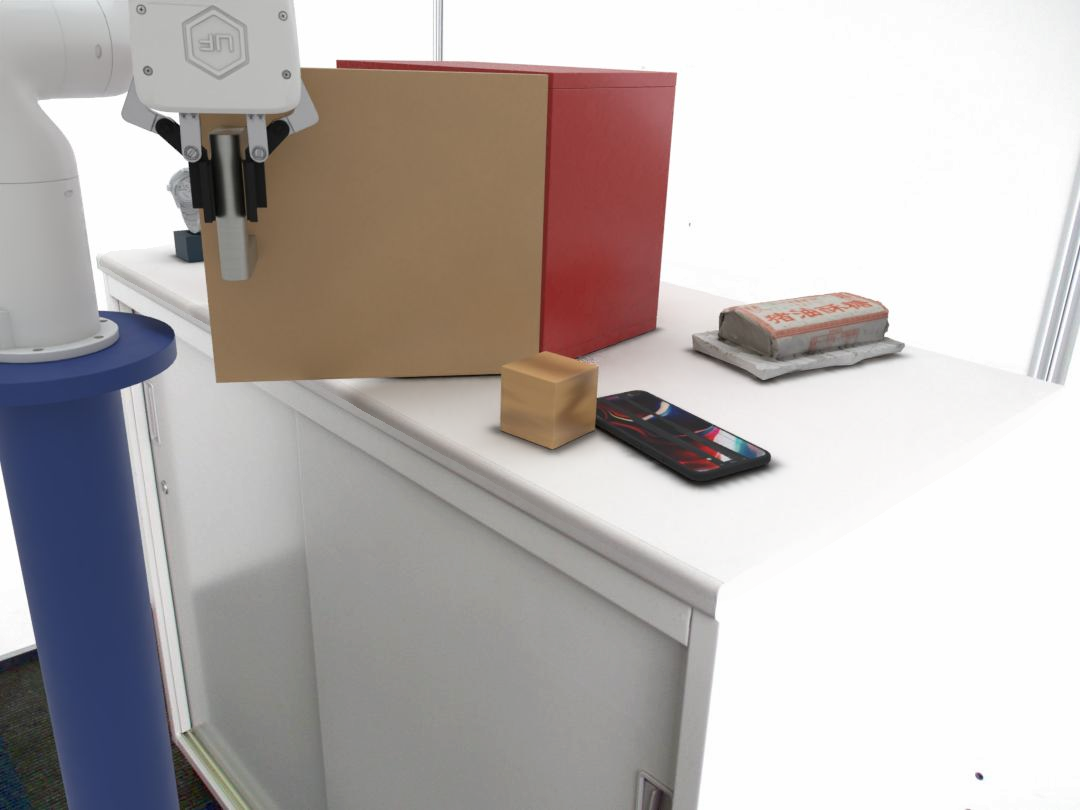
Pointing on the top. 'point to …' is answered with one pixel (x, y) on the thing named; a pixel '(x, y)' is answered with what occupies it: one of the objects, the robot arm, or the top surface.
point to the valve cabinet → (594, 197)
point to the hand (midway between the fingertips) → (231, 216)
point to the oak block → (548, 399)
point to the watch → (186, 218)
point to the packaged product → (799, 334)
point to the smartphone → (676, 436)
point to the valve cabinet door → (382, 230)
